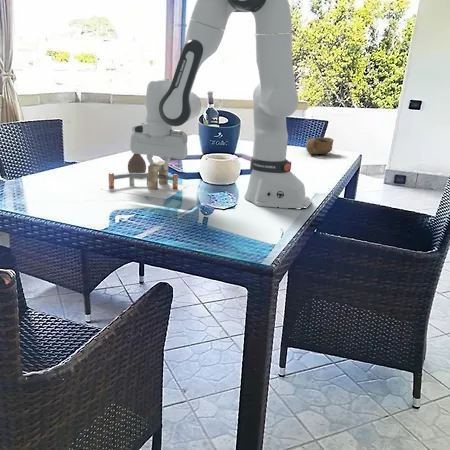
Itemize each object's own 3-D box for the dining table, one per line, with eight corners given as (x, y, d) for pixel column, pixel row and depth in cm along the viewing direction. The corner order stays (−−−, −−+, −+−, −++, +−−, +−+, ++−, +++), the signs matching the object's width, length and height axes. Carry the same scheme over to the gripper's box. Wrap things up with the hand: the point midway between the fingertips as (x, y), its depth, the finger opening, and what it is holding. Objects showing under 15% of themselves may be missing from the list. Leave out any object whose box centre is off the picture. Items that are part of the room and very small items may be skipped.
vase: (142, 179, 184) (142, 156, 181) (124, 177, 185) (124, 154, 182) (148, 175, 190) (148, 152, 187) (131, 173, 191) (131, 150, 188)
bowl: (330, 156, 240) (327, 136, 238) (302, 160, 246) (299, 141, 244) (337, 150, 256) (334, 131, 254) (311, 154, 262) (308, 136, 260)
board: (188, 187, 176) (188, 185, 175) (166, 201, 158) (166, 199, 158) (128, 179, 182) (128, 177, 182) (100, 191, 165) (100, 189, 165)
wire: (176, 184, 176) (176, 171, 174) (177, 189, 170) (178, 175, 168) (109, 183, 172) (109, 169, 170) (108, 188, 166) (108, 174, 164)
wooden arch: (167, 183, 177) (168, 161, 174) (155, 190, 167) (156, 167, 165) (160, 182, 177) (160, 160, 175) (147, 188, 168) (148, 166, 166)
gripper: (191, 130, 166) (189, 170, 170) (136, 124, 171) (136, 163, 176) (183, 132, 160) (182, 174, 165) (127, 126, 166) (128, 166, 170)
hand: (158, 168), depth 170 cm, fingers closed on wooden arch, 3 cm apart
